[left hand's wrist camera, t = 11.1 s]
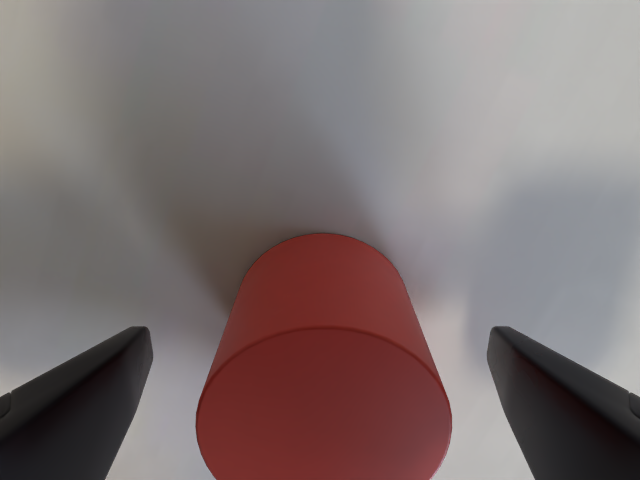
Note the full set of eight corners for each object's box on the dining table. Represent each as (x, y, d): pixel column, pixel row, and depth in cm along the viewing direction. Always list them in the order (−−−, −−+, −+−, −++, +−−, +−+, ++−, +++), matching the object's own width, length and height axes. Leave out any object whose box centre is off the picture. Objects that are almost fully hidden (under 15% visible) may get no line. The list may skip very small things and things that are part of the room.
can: (417, 368, 14) (462, 509, 9) (259, 393, 14) (232, 539, 10) (396, 217, 12) (440, 304, 8) (216, 250, 12) (159, 351, 8)
